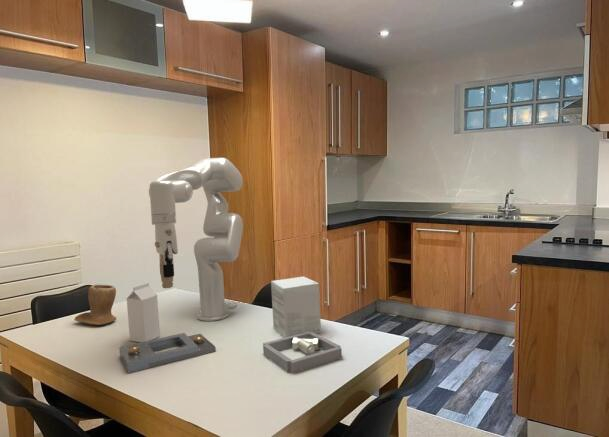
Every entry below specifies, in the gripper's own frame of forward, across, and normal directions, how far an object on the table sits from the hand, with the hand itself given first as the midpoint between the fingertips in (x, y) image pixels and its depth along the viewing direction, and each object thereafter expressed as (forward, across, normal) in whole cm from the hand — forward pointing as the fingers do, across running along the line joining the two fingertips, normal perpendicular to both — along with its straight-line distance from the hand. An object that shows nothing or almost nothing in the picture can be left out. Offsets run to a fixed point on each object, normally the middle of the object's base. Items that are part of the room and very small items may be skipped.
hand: (167, 275), depth 142 cm
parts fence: (+24, -32, -31) cm, 50 cm away
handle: (+4, 0, 0) cm, 4 cm away
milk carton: (+24, +14, +6) cm, 28 cm away
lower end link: (+24, -5, 0) cm, 25 cm away
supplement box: (+24, -11, -41) cm, 49 cm away
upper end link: (+24, -5, +5) cm, 25 cm away
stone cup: (+24, +46, +17) cm, 54 cm away
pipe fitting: (+24, -29, -34) cm, 51 cm away
